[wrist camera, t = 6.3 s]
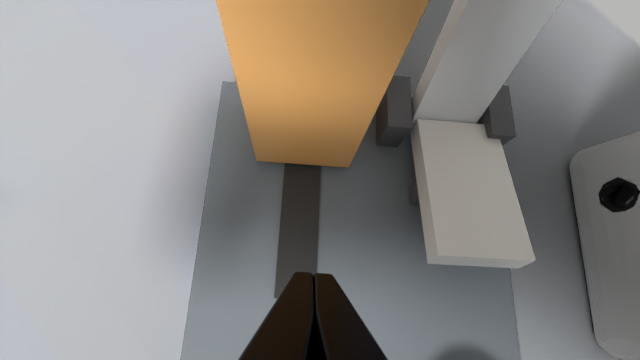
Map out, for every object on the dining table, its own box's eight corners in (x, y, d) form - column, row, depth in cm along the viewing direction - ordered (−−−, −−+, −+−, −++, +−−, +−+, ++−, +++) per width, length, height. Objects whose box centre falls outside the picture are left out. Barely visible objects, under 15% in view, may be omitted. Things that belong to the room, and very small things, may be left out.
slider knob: (353, 172, 15) (491, -86, 5) (251, 165, 15) (162, -126, 4) (354, 85, 16) (463, -262, 6) (261, 76, 16) (211, -303, 6)
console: (528, 559, 12) (600, 639, 10) (157, 561, 11) (114, 651, 9) (478, 114, 18) (514, 80, 15) (226, 93, 17) (213, 53, 14)
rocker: (518, 268, 13) (536, 260, 12) (427, 263, 13) (438, 255, 12) (484, 138, 16) (495, 125, 15) (410, 133, 16) (417, 118, 15)
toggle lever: (475, 136, 15) (686, -153, 7) (412, 131, 15) (559, -171, 7) (466, 103, 16) (640, -179, 8) (407, 98, 16) (528, -195, 8)
